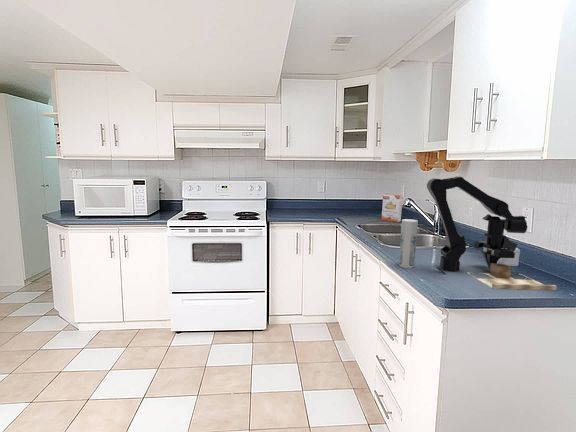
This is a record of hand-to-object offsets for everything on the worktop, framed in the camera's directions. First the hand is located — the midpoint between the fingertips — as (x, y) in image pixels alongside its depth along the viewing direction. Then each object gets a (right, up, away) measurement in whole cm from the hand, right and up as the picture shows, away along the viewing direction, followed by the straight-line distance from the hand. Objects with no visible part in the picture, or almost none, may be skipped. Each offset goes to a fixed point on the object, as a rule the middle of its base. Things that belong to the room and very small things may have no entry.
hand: (491, 269), depth 147 cm
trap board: (0, -4, -11) cm, 12 cm away
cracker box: (0, +18, +144) cm, 145 cm away
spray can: (-31, 0, +10) cm, 32 cm away
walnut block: (0, -2, -6) cm, 6 cm away
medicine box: (+14, -1, +13) cm, 19 cm away
